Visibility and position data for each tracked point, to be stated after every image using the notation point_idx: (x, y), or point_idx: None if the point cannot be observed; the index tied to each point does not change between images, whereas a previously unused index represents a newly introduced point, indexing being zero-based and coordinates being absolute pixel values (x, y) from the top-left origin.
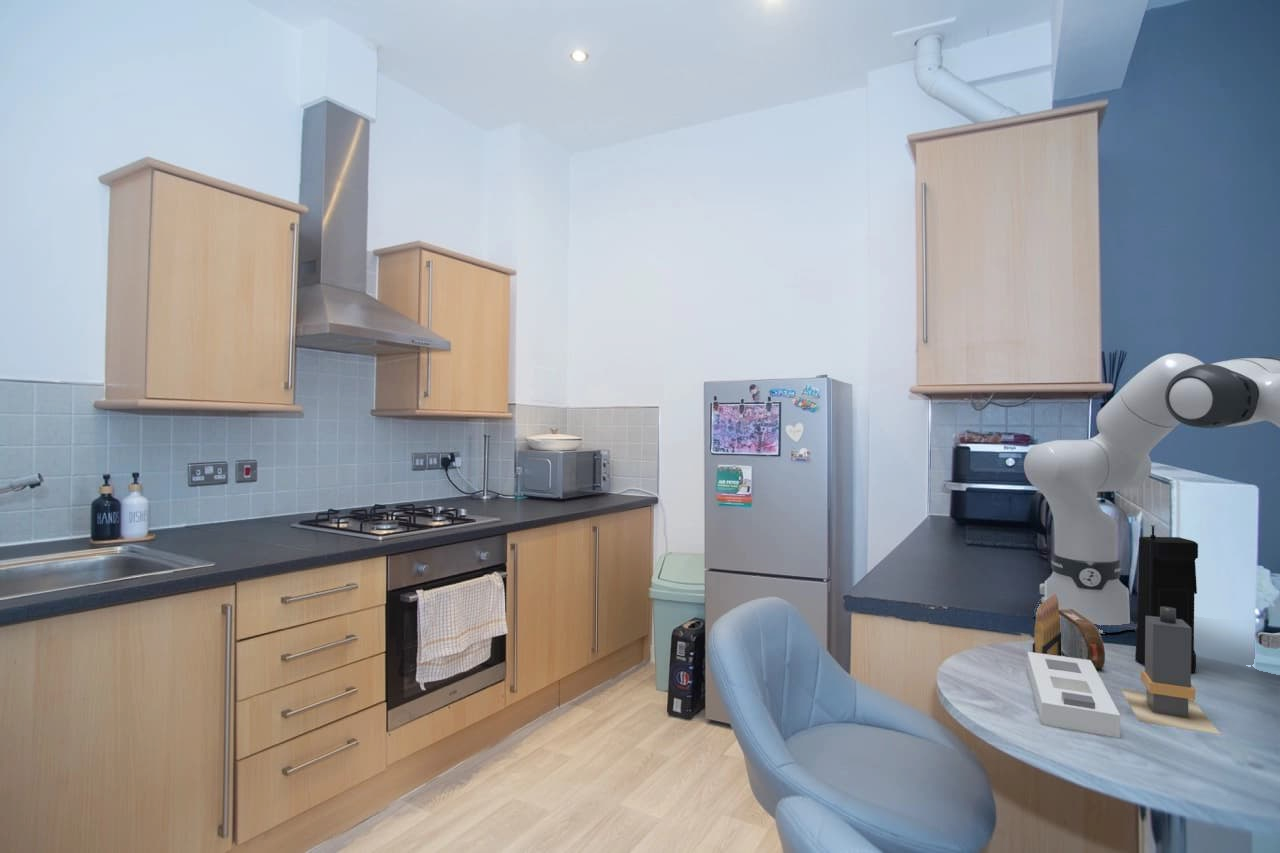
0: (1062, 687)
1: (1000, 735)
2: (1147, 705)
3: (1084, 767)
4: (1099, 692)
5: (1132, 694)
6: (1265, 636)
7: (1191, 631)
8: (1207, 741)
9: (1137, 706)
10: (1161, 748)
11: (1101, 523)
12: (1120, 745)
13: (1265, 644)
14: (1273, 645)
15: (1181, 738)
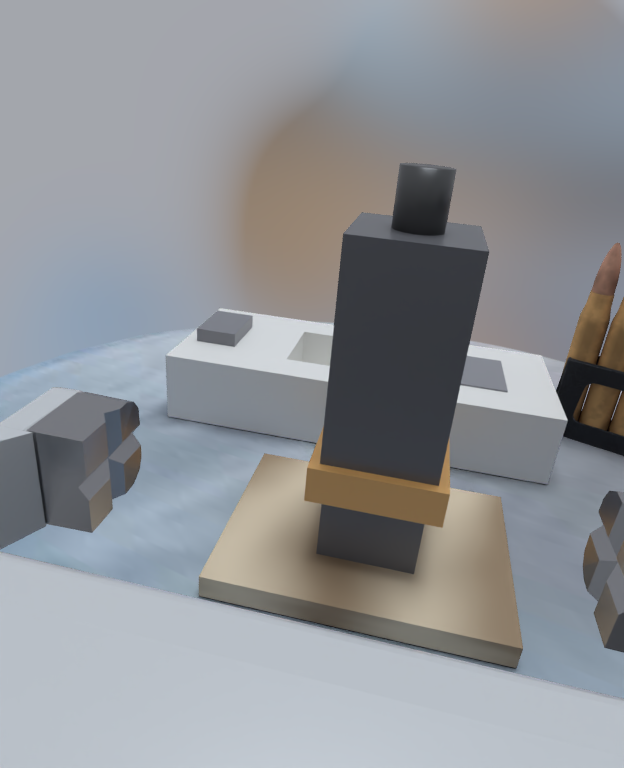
0: None
1: None
2: None
3: (83, 361)
4: (298, 368)
5: (467, 505)
6: (615, 502)
7: (342, 249)
8: (199, 565)
9: None
10: (153, 463)
11: None
12: (166, 417)
13: (591, 560)
14: (603, 600)
15: (213, 519)
